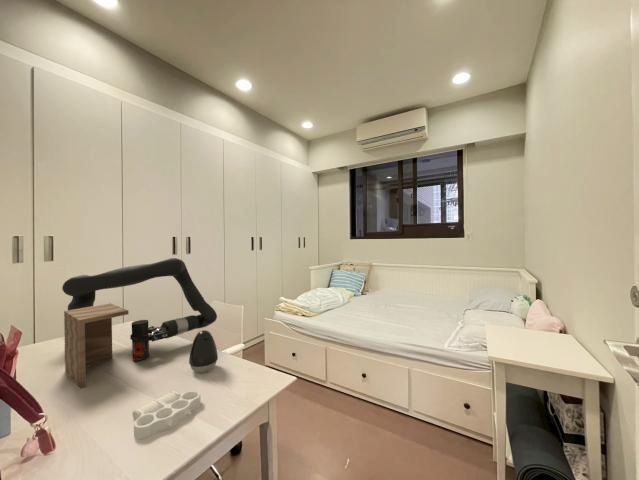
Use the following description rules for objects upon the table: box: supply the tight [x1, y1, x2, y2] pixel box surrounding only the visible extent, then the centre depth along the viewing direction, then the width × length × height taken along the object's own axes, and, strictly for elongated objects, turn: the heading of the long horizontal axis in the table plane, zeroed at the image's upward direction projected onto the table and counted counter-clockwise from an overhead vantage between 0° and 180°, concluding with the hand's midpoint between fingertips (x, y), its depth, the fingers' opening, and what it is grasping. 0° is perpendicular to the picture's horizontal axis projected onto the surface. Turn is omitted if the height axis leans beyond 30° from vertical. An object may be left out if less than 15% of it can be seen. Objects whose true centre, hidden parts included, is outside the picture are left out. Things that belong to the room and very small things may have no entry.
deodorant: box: [131, 319, 150, 361], centre depth 113 cm, size 6×6×15 cm
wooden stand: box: [63, 302, 129, 389], centre depth 103 cm, size 20×14×24 cm
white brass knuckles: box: [131, 390, 202, 440], centre depth 77 cm, size 3×18×15 cm
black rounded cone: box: [188, 329, 219, 374], centre depth 103 cm, size 10×10×15 cm
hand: (134, 339), depth 111 cm, fingers closed on deodorant, 6 cm apart
